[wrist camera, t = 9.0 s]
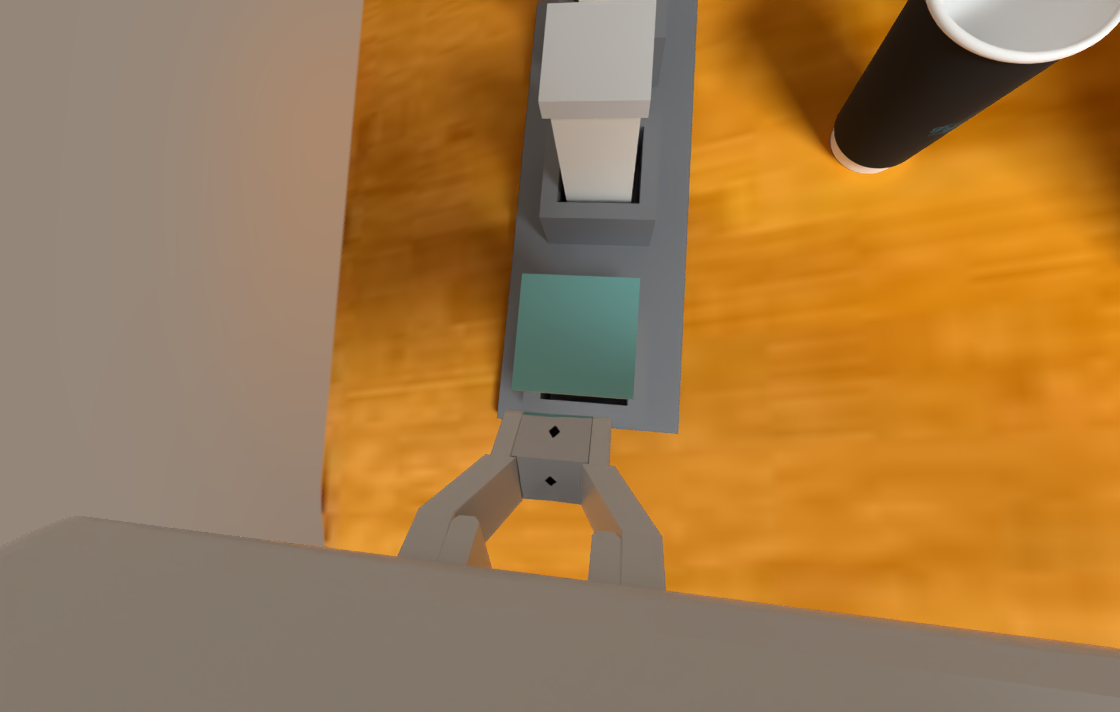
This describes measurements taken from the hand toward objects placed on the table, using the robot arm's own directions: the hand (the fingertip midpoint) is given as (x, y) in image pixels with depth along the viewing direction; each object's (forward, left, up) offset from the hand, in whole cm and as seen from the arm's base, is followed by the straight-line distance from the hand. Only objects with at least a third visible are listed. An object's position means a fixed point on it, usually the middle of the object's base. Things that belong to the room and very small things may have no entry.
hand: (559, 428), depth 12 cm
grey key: (0, -15, -12) cm, 20 cm away
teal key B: (0, -3, -12) cm, 13 cm away
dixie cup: (-18, -20, -17) cm, 32 cm away
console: (0, -15, -16) cm, 23 cm away
